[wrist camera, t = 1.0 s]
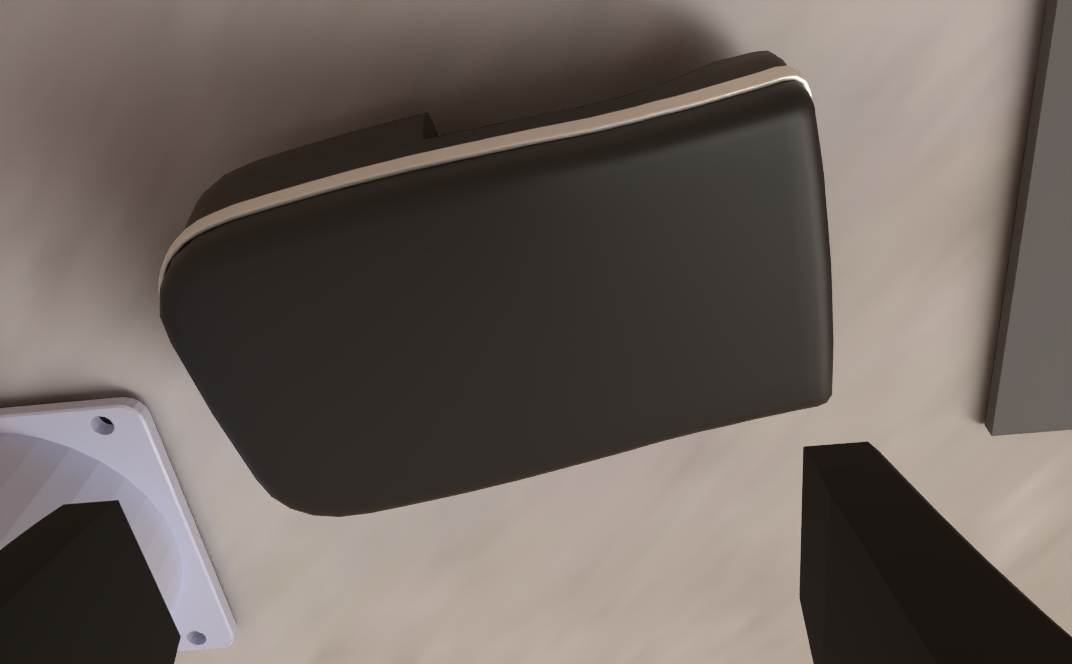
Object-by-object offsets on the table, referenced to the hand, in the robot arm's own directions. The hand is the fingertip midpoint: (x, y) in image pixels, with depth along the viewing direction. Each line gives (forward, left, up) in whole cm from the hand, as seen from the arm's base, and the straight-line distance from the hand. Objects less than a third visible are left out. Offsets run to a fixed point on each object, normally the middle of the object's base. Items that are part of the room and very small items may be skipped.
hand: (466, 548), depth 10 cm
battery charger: (+6, -1, -9) cm, 11 cm away
